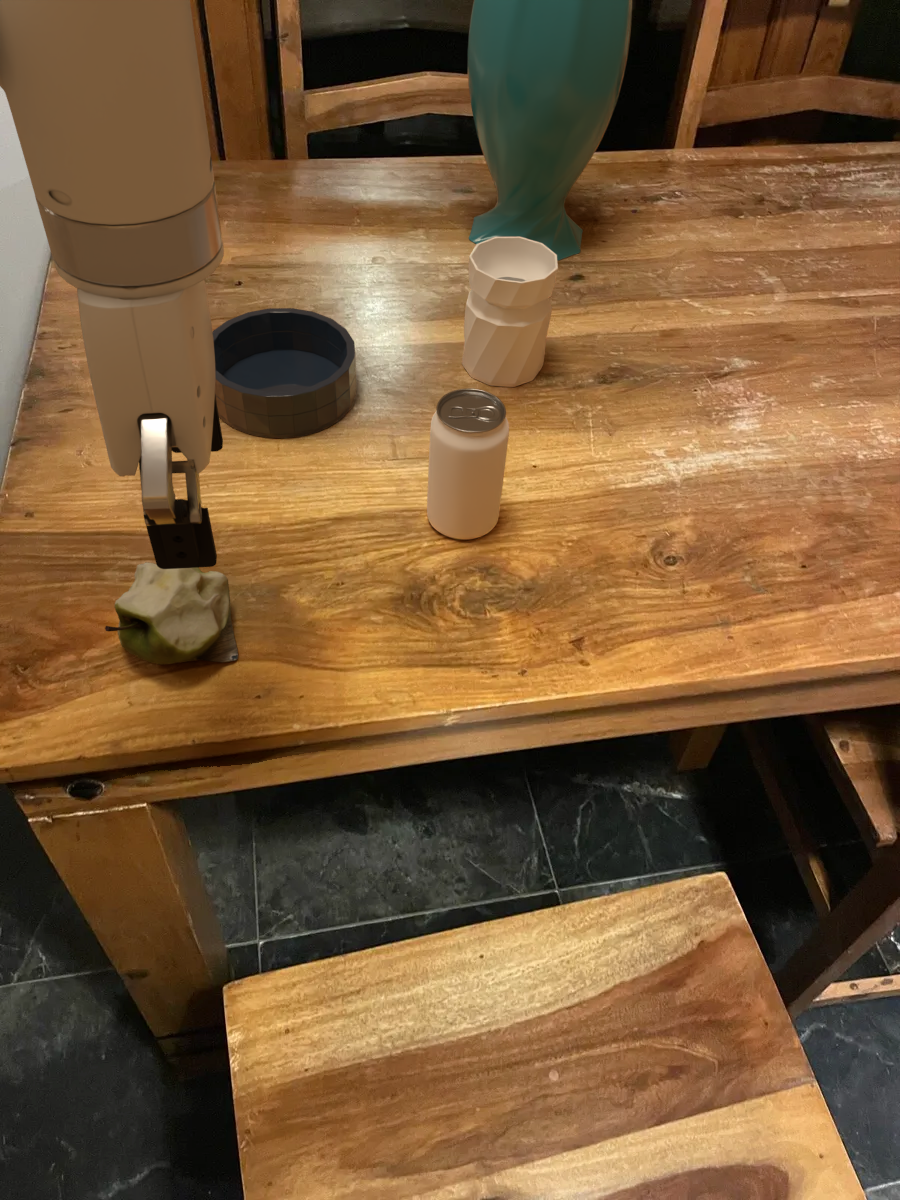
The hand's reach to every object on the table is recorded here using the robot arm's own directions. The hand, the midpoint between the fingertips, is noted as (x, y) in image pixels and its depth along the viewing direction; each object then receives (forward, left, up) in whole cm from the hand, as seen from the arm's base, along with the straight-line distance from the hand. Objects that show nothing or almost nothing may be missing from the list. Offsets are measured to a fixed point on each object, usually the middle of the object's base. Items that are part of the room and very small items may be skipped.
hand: (192, 503), depth 55 cm
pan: (+3, +37, -20) cm, 43 cm away
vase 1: (+33, +68, -20) cm, 79 cm away
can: (+19, +18, -20) cm, 34 cm away
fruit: (-5, +6, -20) cm, 22 cm away
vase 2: (+26, +41, -20) cm, 53 cm away
